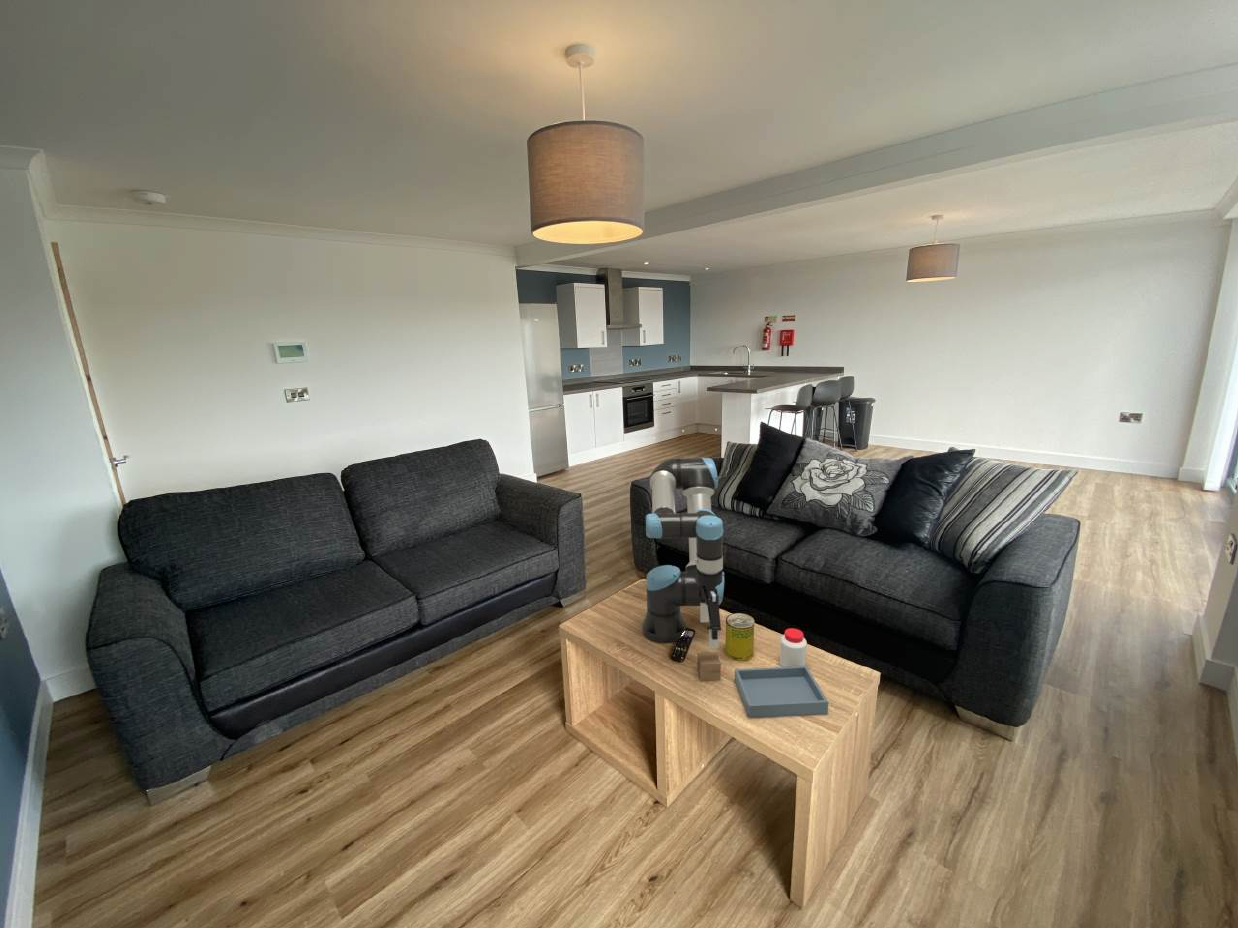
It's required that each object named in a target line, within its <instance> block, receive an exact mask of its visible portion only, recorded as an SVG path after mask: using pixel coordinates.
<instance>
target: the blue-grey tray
mask: <svg viewBox="0 0 1238 928" xmlns="http://www.w3.org/2000/svg"><path fill="white" fill-rule="evenodd" d="M734 683H735V685H736V688H737V691H738V693H739V696H740V698H741V701H742V703H743V707H744V709H745V711H746V714H747V717H748V719H754V718H755V719H756V718H773V717H792V716H812V715H813V716H815V715H828V714H829V701H828V698H827V697H826V696H825V694H824V692H823V690H822V689H821V687H820V686H819V684H818V683H817V681H816V679H815V678H814V676H813V674H812V673H811V671H810V670H809V668H808V666H807V665H806V666H792V667H782V666H779V667H777V666H776V667H773V666H772V667H757V668H739V669H737V668H736V669H734Z"/></svg>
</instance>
